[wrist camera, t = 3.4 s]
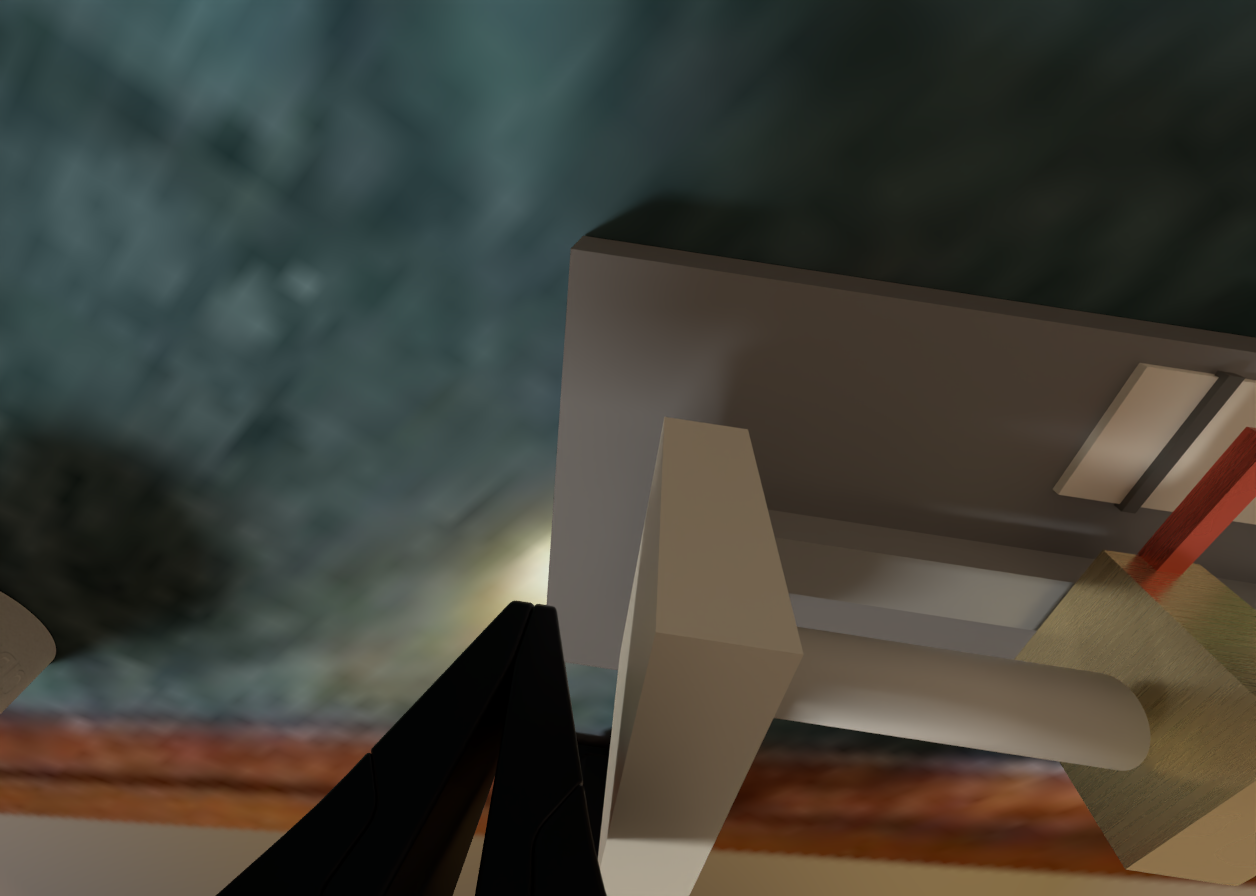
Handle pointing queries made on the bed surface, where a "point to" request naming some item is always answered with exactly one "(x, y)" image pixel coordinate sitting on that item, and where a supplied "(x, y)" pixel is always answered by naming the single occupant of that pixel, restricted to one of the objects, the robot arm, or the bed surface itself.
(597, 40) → the bed surface
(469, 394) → the bed surface
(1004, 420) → the base
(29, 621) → the dixie cup
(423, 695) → the robot arm
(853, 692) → the plunger
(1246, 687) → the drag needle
